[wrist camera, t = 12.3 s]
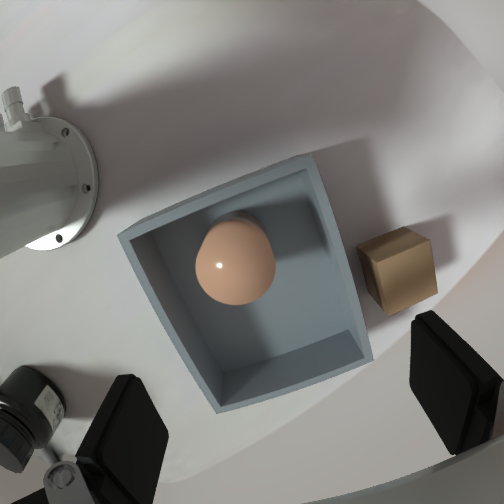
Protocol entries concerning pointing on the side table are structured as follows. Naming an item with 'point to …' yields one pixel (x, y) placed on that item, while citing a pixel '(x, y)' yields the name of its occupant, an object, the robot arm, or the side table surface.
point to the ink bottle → (27, 416)
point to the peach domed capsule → (235, 259)
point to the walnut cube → (398, 269)
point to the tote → (268, 305)
